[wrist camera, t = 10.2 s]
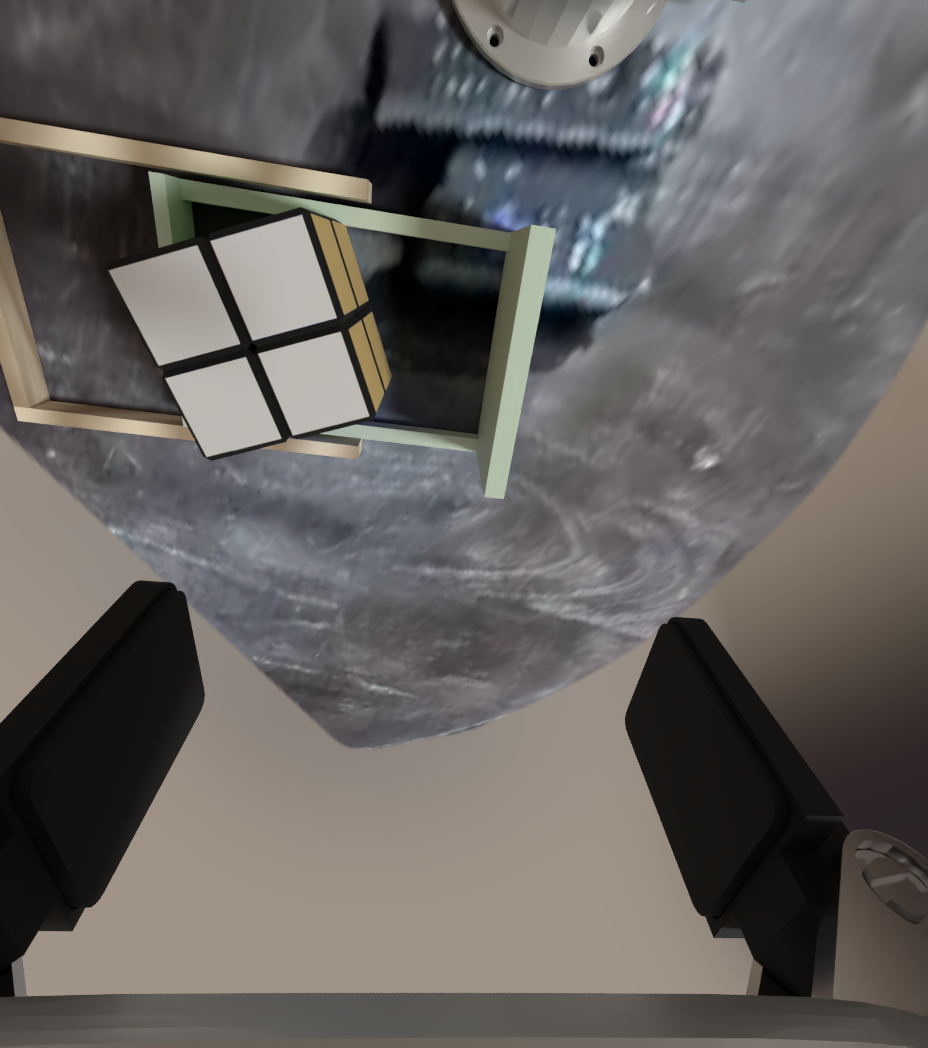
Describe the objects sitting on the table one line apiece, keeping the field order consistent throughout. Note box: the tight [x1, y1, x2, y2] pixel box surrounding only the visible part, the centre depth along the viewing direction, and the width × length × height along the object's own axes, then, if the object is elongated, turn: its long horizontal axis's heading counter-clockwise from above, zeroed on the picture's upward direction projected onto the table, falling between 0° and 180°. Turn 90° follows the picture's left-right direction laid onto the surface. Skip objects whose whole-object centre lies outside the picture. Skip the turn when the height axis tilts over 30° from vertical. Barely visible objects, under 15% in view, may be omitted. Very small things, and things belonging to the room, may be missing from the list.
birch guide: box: [0, 117, 372, 459], centre depth 31 cm, size 23×17×2 cm
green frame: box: [148, 171, 556, 499], centre depth 29 cm, size 21×14×9 cm, turn 82°
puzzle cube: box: [106, 207, 392, 461], centre depth 29 cm, size 10×10×10 cm
